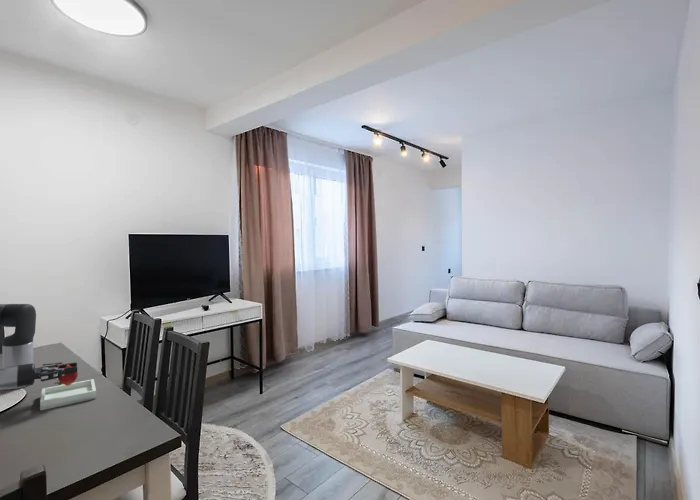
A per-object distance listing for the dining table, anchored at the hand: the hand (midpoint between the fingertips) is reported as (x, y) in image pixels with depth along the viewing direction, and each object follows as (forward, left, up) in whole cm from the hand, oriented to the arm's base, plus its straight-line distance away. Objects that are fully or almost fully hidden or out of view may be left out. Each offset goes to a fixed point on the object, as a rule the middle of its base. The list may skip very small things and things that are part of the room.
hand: (76, 367), depth 137 cm
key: (-15, -4, -12) cm, 20 cm away
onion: (0, -3, -7) cm, 7 cm away
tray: (0, -2, -11) cm, 11 cm away
